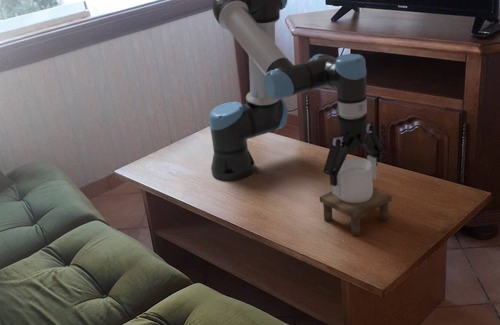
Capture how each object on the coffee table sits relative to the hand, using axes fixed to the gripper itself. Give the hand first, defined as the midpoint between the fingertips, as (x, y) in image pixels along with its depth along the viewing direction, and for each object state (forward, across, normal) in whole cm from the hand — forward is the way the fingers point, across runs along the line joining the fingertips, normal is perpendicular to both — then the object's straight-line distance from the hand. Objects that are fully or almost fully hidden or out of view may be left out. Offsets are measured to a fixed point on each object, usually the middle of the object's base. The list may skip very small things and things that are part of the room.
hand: (354, 186), depth 165 cm
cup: (+3, 0, 0) cm, 3 cm away
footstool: (+11, 0, 0) cm, 11 cm away
